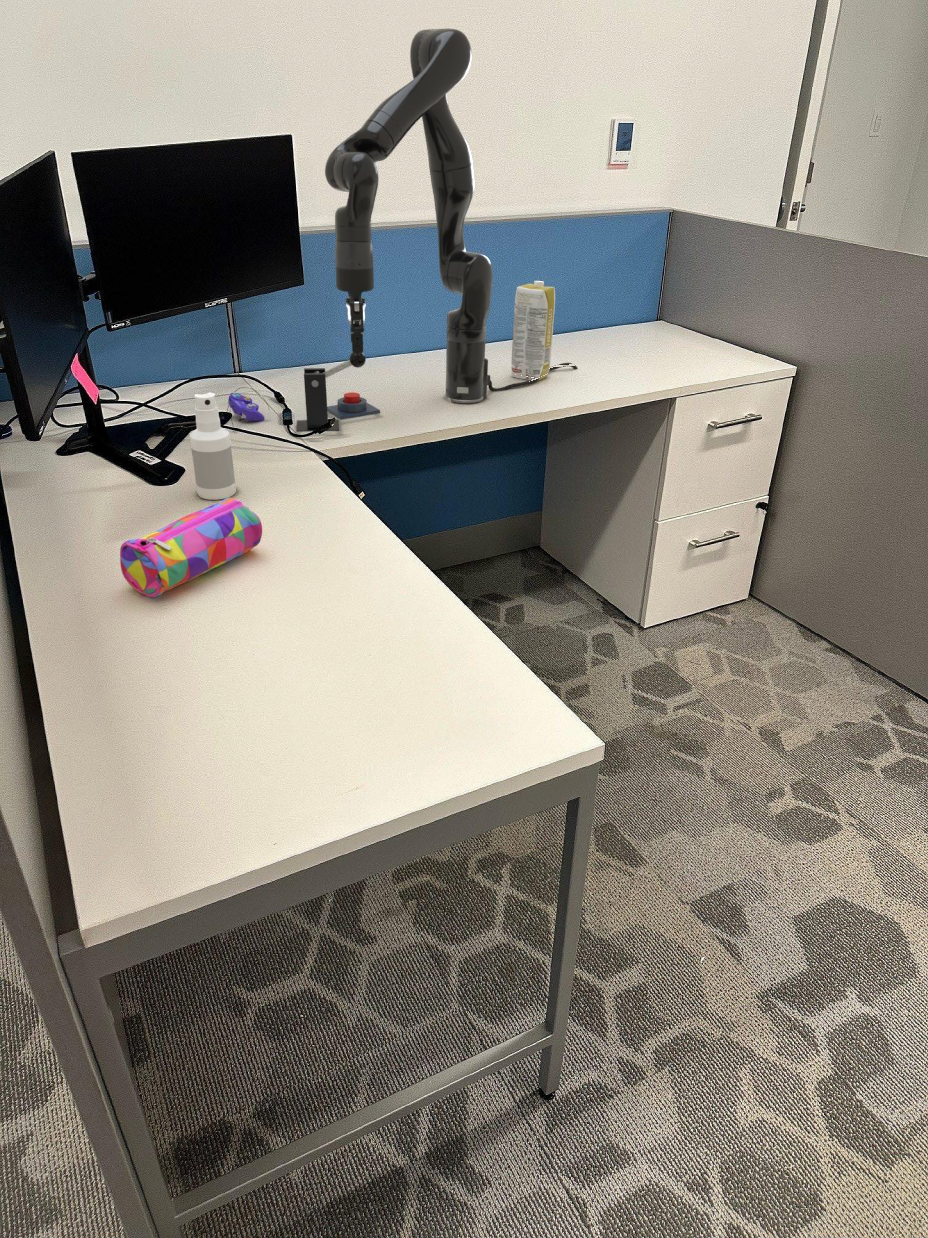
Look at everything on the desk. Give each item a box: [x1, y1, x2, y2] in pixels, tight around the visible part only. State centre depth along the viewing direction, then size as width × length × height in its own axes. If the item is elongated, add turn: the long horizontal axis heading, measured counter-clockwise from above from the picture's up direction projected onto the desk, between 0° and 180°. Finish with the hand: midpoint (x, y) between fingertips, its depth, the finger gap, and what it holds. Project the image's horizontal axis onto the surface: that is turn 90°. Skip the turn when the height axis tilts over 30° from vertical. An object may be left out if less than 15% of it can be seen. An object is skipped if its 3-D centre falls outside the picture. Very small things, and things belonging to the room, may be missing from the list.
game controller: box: [221, 386, 270, 426], centre depth 191 cm, size 10×8×10 cm
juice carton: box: [510, 280, 556, 382], centre depth 224 cm, size 9×8×24 cm
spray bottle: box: [189, 392, 237, 501], centre depth 153 cm, size 7×7×18 cm
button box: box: [327, 396, 381, 421], centre depth 197 cm, size 10×8×4 cm
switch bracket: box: [295, 367, 340, 433], centre depth 185 cm, size 9×7×13 cm
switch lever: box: [314, 351, 367, 379], centre depth 182 cm, size 13×3×3 cm, turn 99°
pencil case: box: [119, 497, 263, 598], centre depth 129 cm, size 22×9×9 cm, turn 148°
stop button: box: [343, 391, 361, 403], centre depth 196 cm, size 4×4×2 cm
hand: (357, 347), depth 181 cm, fingers open, 8 cm apart
